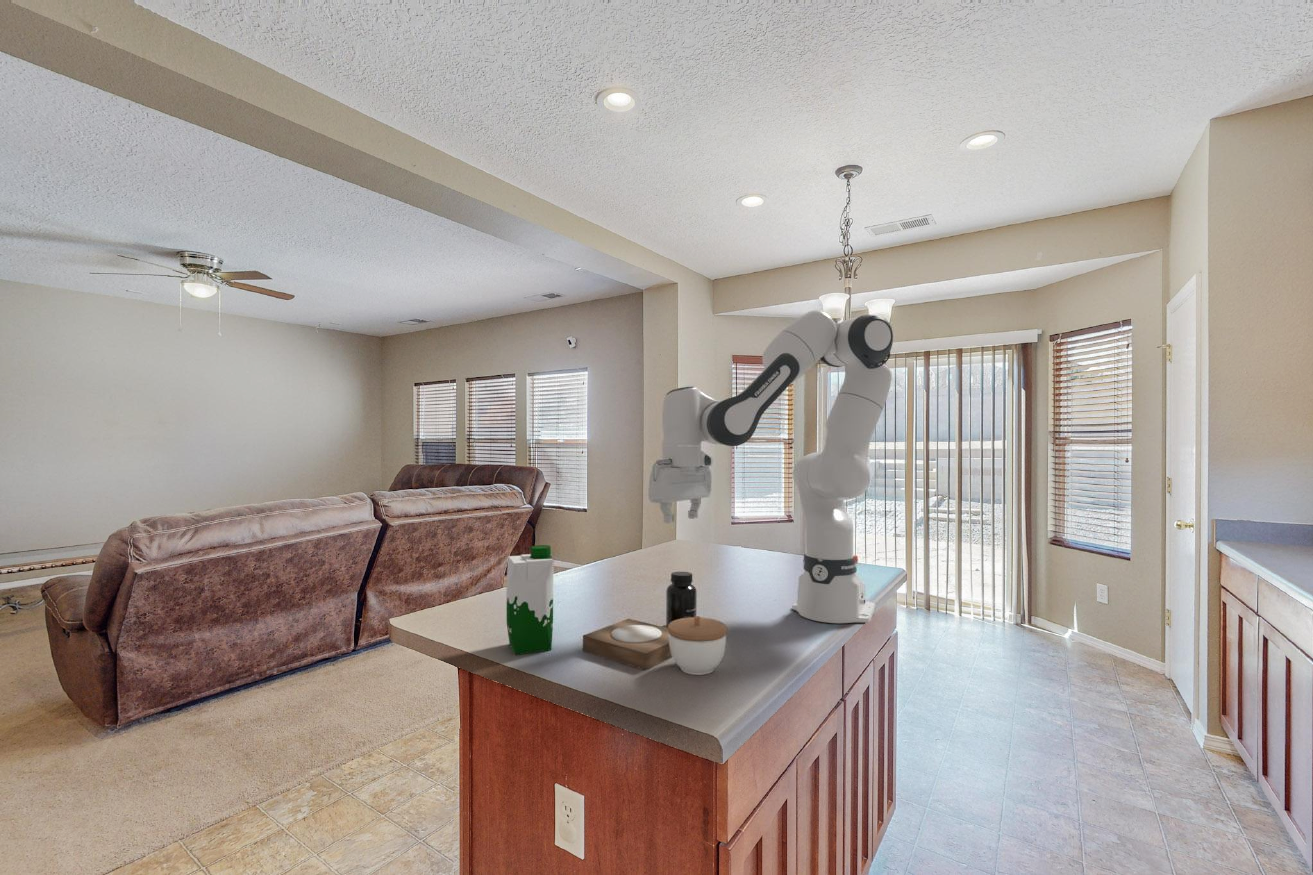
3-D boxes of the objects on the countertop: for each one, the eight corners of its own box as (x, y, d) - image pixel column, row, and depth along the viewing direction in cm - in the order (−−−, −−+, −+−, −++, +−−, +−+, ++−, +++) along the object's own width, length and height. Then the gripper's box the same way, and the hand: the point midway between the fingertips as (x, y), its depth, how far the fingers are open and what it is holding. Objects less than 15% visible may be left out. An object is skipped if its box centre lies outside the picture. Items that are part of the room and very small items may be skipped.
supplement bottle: (694, 633, 123) (694, 577, 123) (663, 631, 124) (663, 576, 125) (698, 623, 130) (698, 570, 130) (669, 621, 131) (669, 569, 131)
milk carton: (557, 651, 112) (557, 549, 112) (510, 657, 109) (510, 552, 109) (547, 637, 120) (547, 542, 121) (503, 643, 117) (504, 545, 117)
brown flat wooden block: (628, 632, 123) (628, 617, 123) (689, 648, 114) (689, 631, 114) (582, 650, 112) (582, 633, 112) (646, 670, 103) (646, 651, 103)
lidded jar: (725, 682, 97) (725, 627, 97) (663, 678, 99) (663, 624, 99) (728, 659, 108) (728, 609, 108) (672, 655, 110) (672, 607, 110)
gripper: (665, 459, 117) (665, 526, 117) (716, 458, 134) (716, 517, 134) (641, 459, 121) (641, 524, 121) (694, 458, 138) (694, 515, 137)
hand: (681, 520), depth 127 cm, fingers open, 8 cm apart
